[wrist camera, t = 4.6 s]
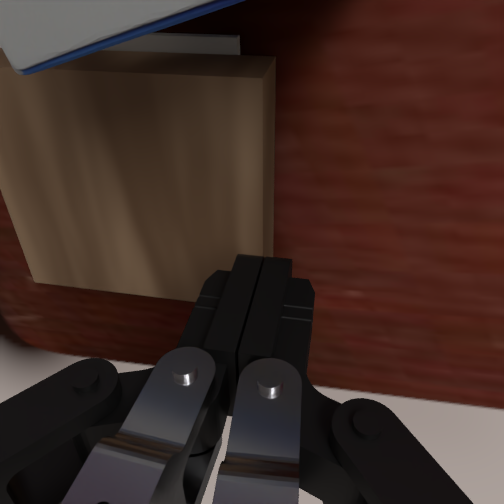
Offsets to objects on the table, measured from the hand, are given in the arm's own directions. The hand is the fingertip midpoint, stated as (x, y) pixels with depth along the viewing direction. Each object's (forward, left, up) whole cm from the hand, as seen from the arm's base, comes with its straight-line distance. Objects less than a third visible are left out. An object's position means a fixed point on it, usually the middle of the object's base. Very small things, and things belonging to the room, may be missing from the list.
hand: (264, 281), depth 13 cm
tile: (+1, 0, -5) cm, 5 cm away
